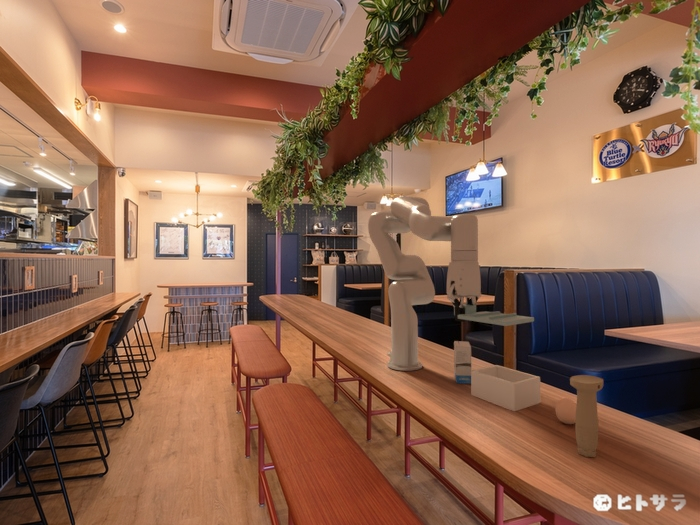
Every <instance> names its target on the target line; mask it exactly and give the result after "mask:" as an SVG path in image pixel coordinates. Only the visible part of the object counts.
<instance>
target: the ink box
mask: <svg viewBox="0 0 700 525" xmlns="http://www.w3.org/2000/svg"><path fill="white" fill-rule="evenodd" d="M453 355H454V356H453V357H454V358H453V360H454V361H453V362H454V364H453V365H454V369H453V371H454V379H455V381H456V384H465V385H471V371H472V346H471V344H470V342H469V341H462V340H461V341H459V340H454V342H453Z"/></svg>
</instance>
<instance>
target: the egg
mask: <svg viewBox="0 0 700 525" xmlns="http://www.w3.org/2000/svg"><path fill="white" fill-rule="evenodd" d="M576 406H577V402H575V401H574V400H572V399H571V398H568V397H565V398H561V399H560V400H559V401H558V402H557V403H556V405H555V415H556V417H557V419H559V421H561V422H562V423H563V424H566V425H572V424H573V425H575V420H576Z"/></svg>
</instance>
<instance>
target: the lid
mask: <svg viewBox="0 0 700 525" xmlns="http://www.w3.org/2000/svg"><path fill="white" fill-rule="evenodd" d="M463 308H465V314H461V315H458V319H464V320H465V321H469V322H472V321H473V322H478V323H484V324H491V325H497V326H503V327H508V326H516V325H521V324H526V323H533V322H535V317H534V316H532V317H531V316H525V315H518V314H517V313H516V312H513V313H502V312H501V311H500V310H499V311H498V310H497V311H478V312H477V305H476V306H475V305H466V303H465V304H463ZM453 315H454V316H455V307H454V306H453Z"/></svg>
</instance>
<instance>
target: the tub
mask: <svg viewBox="0 0 700 525" xmlns="http://www.w3.org/2000/svg"><path fill="white" fill-rule="evenodd" d="M471 370H472V369H471ZM470 385H471V386H470V396H472V397H476V398H479V399H481V400H483V401H486V402H489V403H490V404H494V405H497V406H499V407H501V408H505V409H507V410H510V411H512V412H517V411H520V410H523V409H526V408H528V407H533V406H535V405H539V404H541V376H538V375H534V374H530V373H527V372H525V371H524V372H523V371H520V370H516V369H513V368H509V367H505V366H502V365H498V364H495V365H490V366H486V367H481V368H477V369H473V370H472V371H471V384H470Z"/></svg>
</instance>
